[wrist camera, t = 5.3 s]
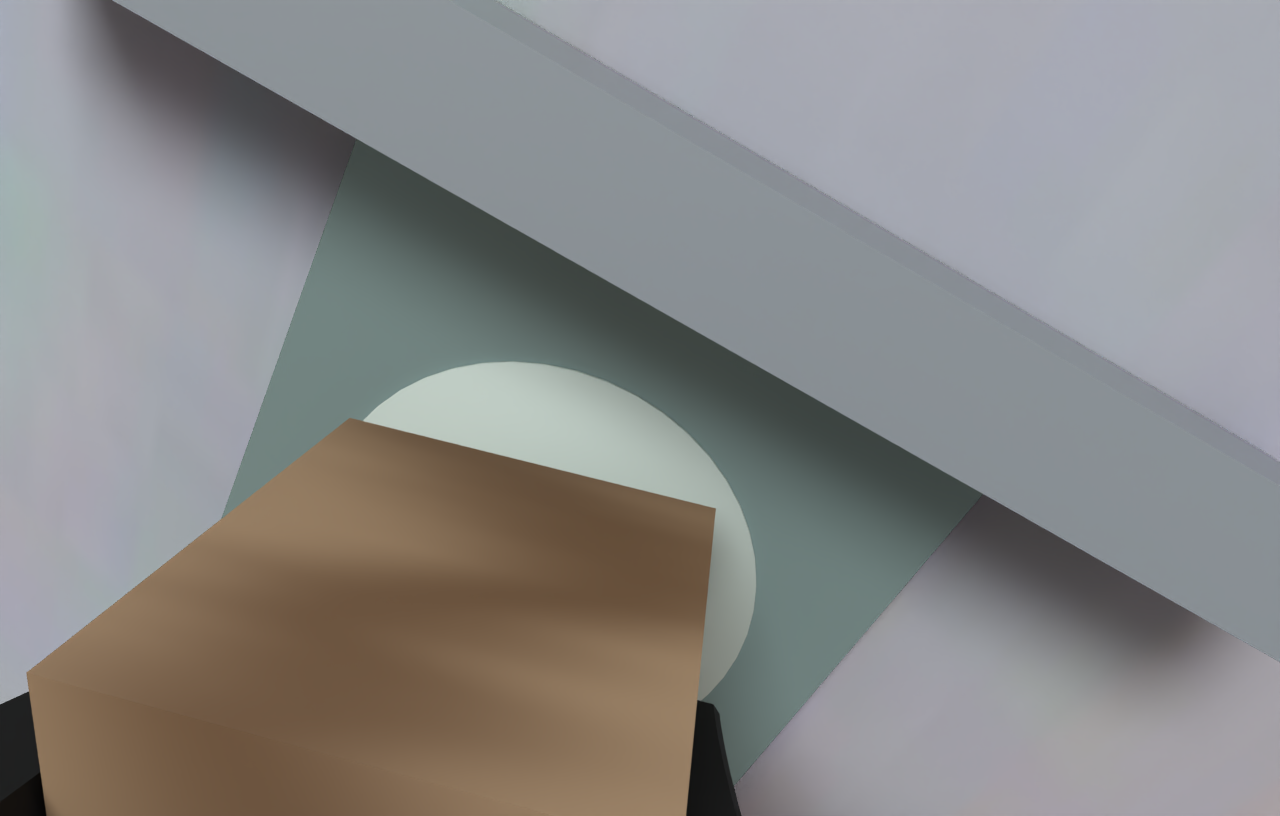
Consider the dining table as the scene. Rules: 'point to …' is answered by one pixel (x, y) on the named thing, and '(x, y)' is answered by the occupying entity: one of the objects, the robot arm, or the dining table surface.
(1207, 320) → the dining table surface
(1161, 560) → the low wall
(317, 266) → the mat
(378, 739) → the walnut block
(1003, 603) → the dining table surface
